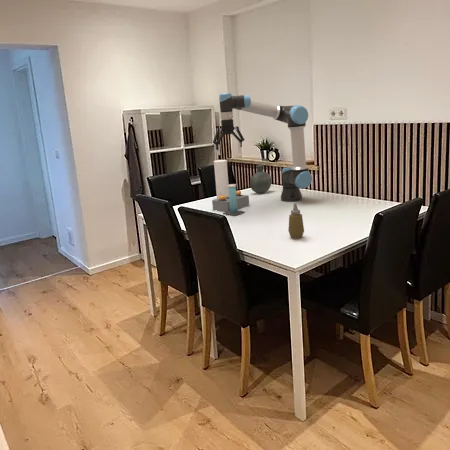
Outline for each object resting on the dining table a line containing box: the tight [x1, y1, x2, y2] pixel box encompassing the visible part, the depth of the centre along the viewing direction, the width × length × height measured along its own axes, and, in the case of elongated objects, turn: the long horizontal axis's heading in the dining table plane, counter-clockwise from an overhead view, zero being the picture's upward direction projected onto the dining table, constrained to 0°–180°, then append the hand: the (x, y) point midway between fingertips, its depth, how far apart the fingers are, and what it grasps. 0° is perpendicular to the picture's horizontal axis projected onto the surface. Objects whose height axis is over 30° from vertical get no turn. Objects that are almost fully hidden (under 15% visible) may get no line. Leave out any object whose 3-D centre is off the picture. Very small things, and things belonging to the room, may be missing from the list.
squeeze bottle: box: [288, 202, 305, 240], centre depth 225 cm, size 8×8×18 cm
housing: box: [211, 194, 250, 213], centre depth 303 cm, size 14×22×7 cm, turn 138°
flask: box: [249, 164, 272, 194], centre depth 340 cm, size 12×17×22 cm
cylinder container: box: [213, 159, 229, 199], centre depth 326 cm, size 9×9×30 cm
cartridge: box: [228, 183, 238, 213], centre depth 284 cm, size 5×5×18 cm
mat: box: [222, 209, 246, 217], centre depth 287 cm, size 10×10×1 cm
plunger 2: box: [236, 190, 242, 196], centre depth 308 cm, size 5×5×9 cm
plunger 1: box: [219, 195, 226, 201], centre depth 297 cm, size 5×5×9 cm
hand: (229, 153), depth 277 cm, fingers open, 13 cm apart
